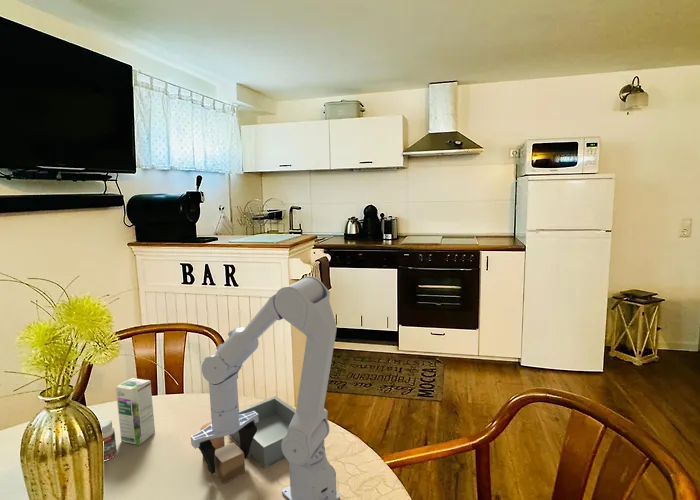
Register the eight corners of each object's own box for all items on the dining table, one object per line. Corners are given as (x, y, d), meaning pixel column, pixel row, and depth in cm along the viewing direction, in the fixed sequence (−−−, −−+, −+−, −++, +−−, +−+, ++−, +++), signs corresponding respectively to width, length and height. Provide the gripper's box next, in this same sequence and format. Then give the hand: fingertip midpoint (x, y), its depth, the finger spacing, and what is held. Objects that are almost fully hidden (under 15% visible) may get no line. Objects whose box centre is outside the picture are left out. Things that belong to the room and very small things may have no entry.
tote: (315, 442, 104) (315, 423, 103) (264, 467, 95) (263, 447, 94) (276, 413, 117) (275, 396, 116) (228, 433, 108) (227, 414, 107)
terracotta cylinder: (228, 455, 99) (227, 428, 98) (208, 465, 96) (205, 436, 95) (219, 446, 103) (217, 419, 102) (199, 455, 100) (197, 427, 98)
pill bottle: (106, 464, 97) (102, 430, 96) (88, 461, 98) (84, 428, 97) (121, 451, 102) (118, 418, 100) (104, 449, 102) (100, 417, 101)
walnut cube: (245, 473, 93) (244, 452, 92) (223, 484, 90) (222, 462, 89) (234, 462, 97) (233, 442, 96) (213, 472, 94) (212, 451, 93)
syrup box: (120, 442, 105) (113, 387, 103) (138, 429, 111) (132, 376, 108) (139, 445, 103) (133, 390, 101) (156, 432, 109) (151, 379, 107)
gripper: (246, 387, 99) (249, 441, 101) (183, 410, 89) (188, 469, 91) (262, 399, 93) (265, 455, 95) (196, 424, 84) (201, 486, 86)
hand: (228, 463), depth 93 cm, fingers open, 7 cm apart
